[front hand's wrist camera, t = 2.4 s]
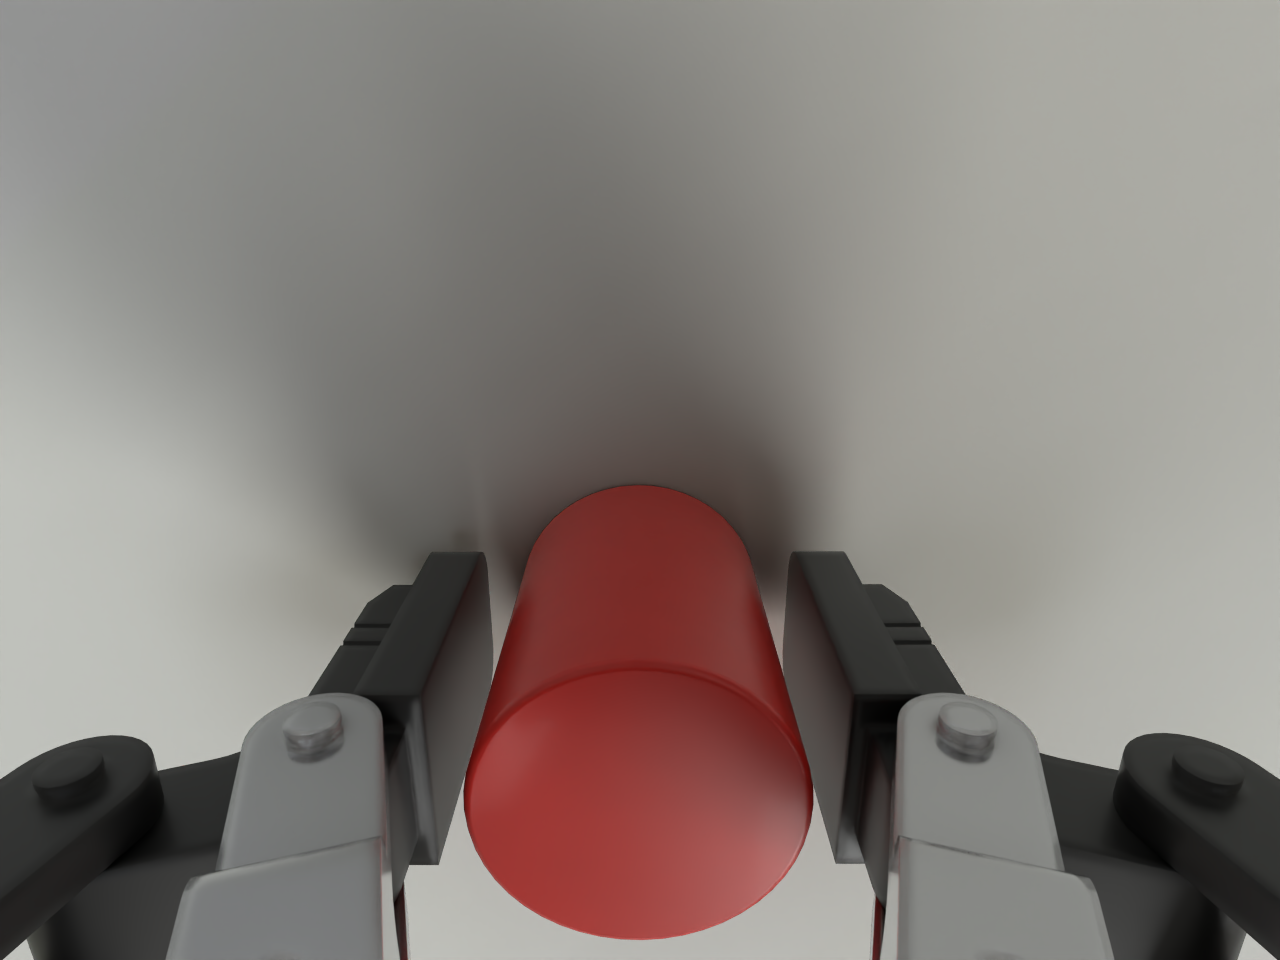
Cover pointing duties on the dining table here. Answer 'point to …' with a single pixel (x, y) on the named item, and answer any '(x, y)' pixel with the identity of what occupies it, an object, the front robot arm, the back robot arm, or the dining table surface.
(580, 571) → the canister
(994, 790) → the front robot arm
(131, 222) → the dining table surface
